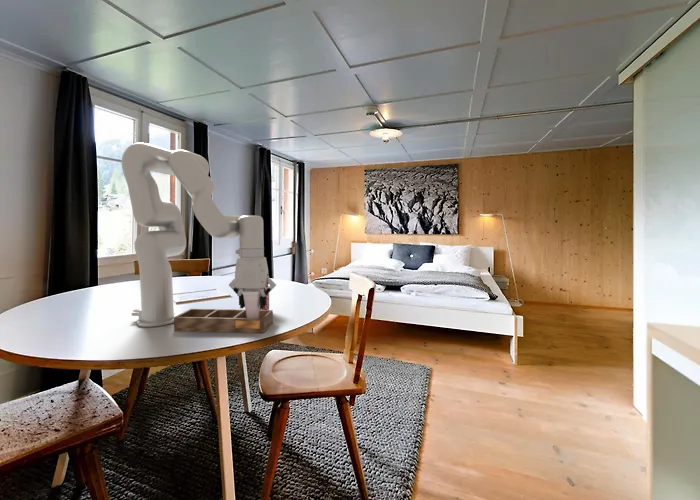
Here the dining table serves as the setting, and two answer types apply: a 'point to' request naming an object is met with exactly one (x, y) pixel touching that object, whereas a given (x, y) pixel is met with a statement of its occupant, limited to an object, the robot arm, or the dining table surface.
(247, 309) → the smoothie
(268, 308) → the soda can
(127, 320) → the dining table surface
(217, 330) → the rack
